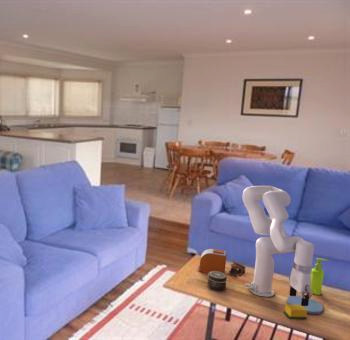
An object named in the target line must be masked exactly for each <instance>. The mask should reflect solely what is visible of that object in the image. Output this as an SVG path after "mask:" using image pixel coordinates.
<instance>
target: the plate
mask: <svg viewBox="0 0 350 340" xmlns="http://www.w3.org/2000/svg"><path fill="white" fill-rule="evenodd" d="M302 298H303V296H302V295H296V296H290V295H289V296H288V297H287V305H301V301H302ZM303 307H304V308H305V309H306V310H307V314H313V315H317V314H322V312H323V311H324V308H323V305H322V304H321V303H319V302H318V301H317V300H315V299H313V298H310V299H309V303H308V306H303Z"/></svg>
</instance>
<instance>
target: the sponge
mask: <svg viewBox="0 0 350 340" xmlns="http://www.w3.org/2000/svg"><path fill="white" fill-rule="evenodd" d="M284 314H285V315H286V317H288V318H289V319H291V320H292V319H293V320H294V319H295V320H303V319H304V320H307V316H308V315H307V314H308V313H307V310H306V309H305V308H304V307H303V306H301V305H289V304H285V306H284Z"/></svg>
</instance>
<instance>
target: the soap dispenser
mask: <svg viewBox="0 0 350 340" xmlns="http://www.w3.org/2000/svg"><path fill="white" fill-rule="evenodd" d="M315 259H316V263H315V264H314V267H312V269H311V288H310V289H311V291H312V293H313V294H312V295H316V296H320V295H321V294H322V288H323V283H324V282H323V281H324V276H325V271H324V269H323V264H322V261H323V262H329V260H328V259H327V258H323V257H316V258H315Z"/></svg>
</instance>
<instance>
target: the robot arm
mask: <svg viewBox="0 0 350 340" xmlns="http://www.w3.org/2000/svg"><path fill="white" fill-rule="evenodd" d="M291 201H292V198H291V196H290V194H289V193H288V192H287V191H286V190H283V189H281V188H278V187H276V186H272V185H251V186H247V187H245V189H243V192H242V202H243V205H244V207H245V209H246V211H247V213H248V217H249V219H250V223H251V226H252V230H253V231H254V233H255V234H256V235H258V236H260V237H259V238H257V239H256V242H255V263H254V273H253V278H252V279H253V280H252V281H251V282H249V283H244V284H243V287H244V288H248V290H249V291H250V292H251V293H252V294H254V295H256V296H259V297H263V298H269V297H270V298H271V297H274V295H275V291H274V290H273V289H272V288H273V280H274V272H275V267H276V265H275V264H276V262H275V259H274V257H273V256H274V255H281V254H286V253H294V259H293V266H292V268H291V272H290V276H289V277H288V281H289V282H288V284H289V297H290V296H297V293H299V294H301V296H303V298H302V301H301V306H308V303H309V299H311V298H312V296H313V295H314V294H313V293H312V291H311V289H310V288H311V271H312V268H313V259H314V252H315V246H314V245H315V244H314V243H312V242H309V241H307V240H305V239H304V238H302V237H301V236H296V235H295V236H293V235H292V236H288V235H287V233H286V229H285V227H284V224H283V223H284V222H286V221H287V220H288V219H289V217H290V215H289V212H288V210H287V209H286V207H288V206H289V205H290V204H291ZM259 202H262V203H263V205H264V207H265V209H264V207H263V205H261V204H260V203H259ZM265 210H266V211H267V213H268V215H269V216H267V214H266V211H265ZM268 235H269V236H268Z"/></svg>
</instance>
